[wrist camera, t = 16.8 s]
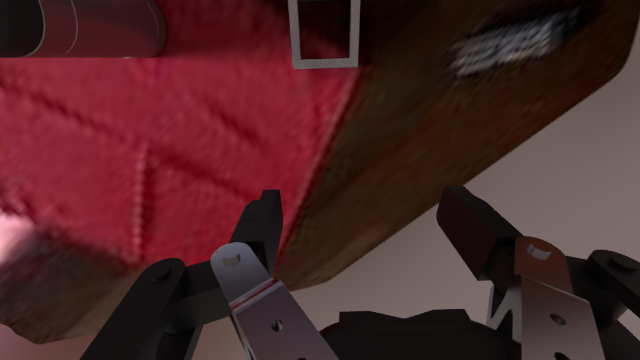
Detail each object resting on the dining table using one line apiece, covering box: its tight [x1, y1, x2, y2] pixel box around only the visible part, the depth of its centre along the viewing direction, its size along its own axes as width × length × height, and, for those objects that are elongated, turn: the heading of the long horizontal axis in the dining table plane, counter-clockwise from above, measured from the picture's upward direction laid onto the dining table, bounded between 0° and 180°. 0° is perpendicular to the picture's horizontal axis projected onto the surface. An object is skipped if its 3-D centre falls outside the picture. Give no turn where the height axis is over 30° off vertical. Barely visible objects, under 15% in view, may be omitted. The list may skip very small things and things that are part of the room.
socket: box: [288, 0, 360, 69], centre depth 34 cm, size 10×10×2 cm
